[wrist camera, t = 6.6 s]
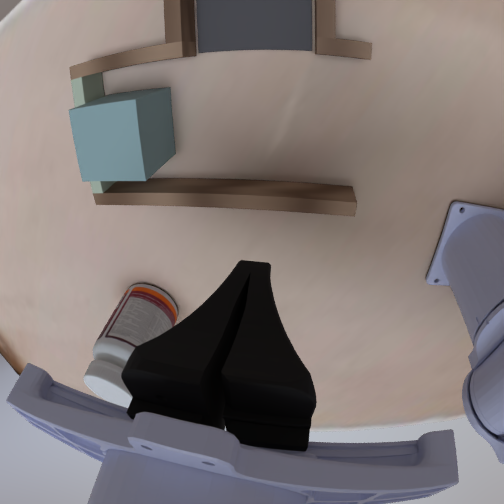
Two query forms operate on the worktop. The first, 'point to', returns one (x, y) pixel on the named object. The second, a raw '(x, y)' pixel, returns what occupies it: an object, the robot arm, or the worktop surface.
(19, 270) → the worktop surface
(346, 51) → the brown frame
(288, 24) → the mat
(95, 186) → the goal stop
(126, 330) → the pill bottle
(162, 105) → the teal block
